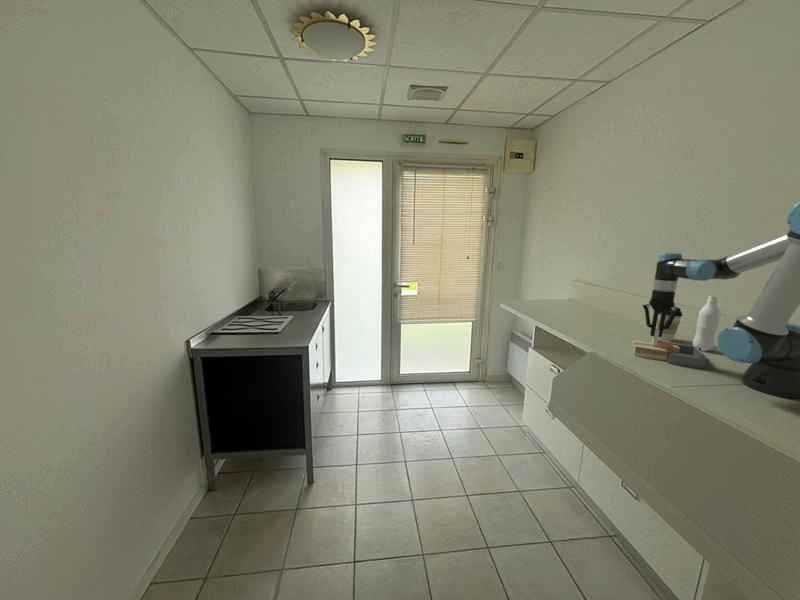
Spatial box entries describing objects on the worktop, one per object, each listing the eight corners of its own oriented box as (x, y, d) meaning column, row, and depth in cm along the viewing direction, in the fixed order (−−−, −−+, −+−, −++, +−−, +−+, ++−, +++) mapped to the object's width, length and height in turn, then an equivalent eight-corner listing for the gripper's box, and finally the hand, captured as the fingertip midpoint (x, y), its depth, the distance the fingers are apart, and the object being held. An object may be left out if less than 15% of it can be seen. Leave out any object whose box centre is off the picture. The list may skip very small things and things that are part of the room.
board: (666, 360, 136) (668, 351, 135) (634, 355, 141) (635, 346, 140) (661, 351, 146) (662, 343, 145) (631, 347, 151) (632, 339, 151)
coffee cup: (648, 337, 167) (653, 308, 163) (659, 335, 171) (664, 307, 168) (670, 343, 158) (676, 313, 155) (681, 340, 162) (687, 311, 159)
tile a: (670, 349, 138) (671, 343, 137) (656, 347, 140) (657, 341, 139) (667, 346, 142) (669, 340, 141) (655, 344, 144) (656, 339, 143)
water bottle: (716, 352, 146) (729, 298, 141) (698, 351, 147) (710, 297, 142) (704, 347, 153) (716, 294, 148) (687, 346, 154) (698, 294, 149)
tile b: (670, 357, 138) (678, 358, 137) (672, 347, 137) (680, 348, 136) (668, 354, 142) (675, 355, 141) (670, 344, 141) (677, 345, 140)
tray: (706, 369, 128) (708, 359, 127) (667, 363, 133) (669, 353, 133) (694, 355, 143) (696, 346, 142) (659, 349, 149) (661, 341, 148)
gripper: (681, 290, 137) (671, 343, 142) (643, 287, 143) (635, 338, 148) (686, 292, 131) (675, 348, 135) (646, 289, 137) (637, 343, 142)
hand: (654, 343), depth 142 cm, fingers closed
